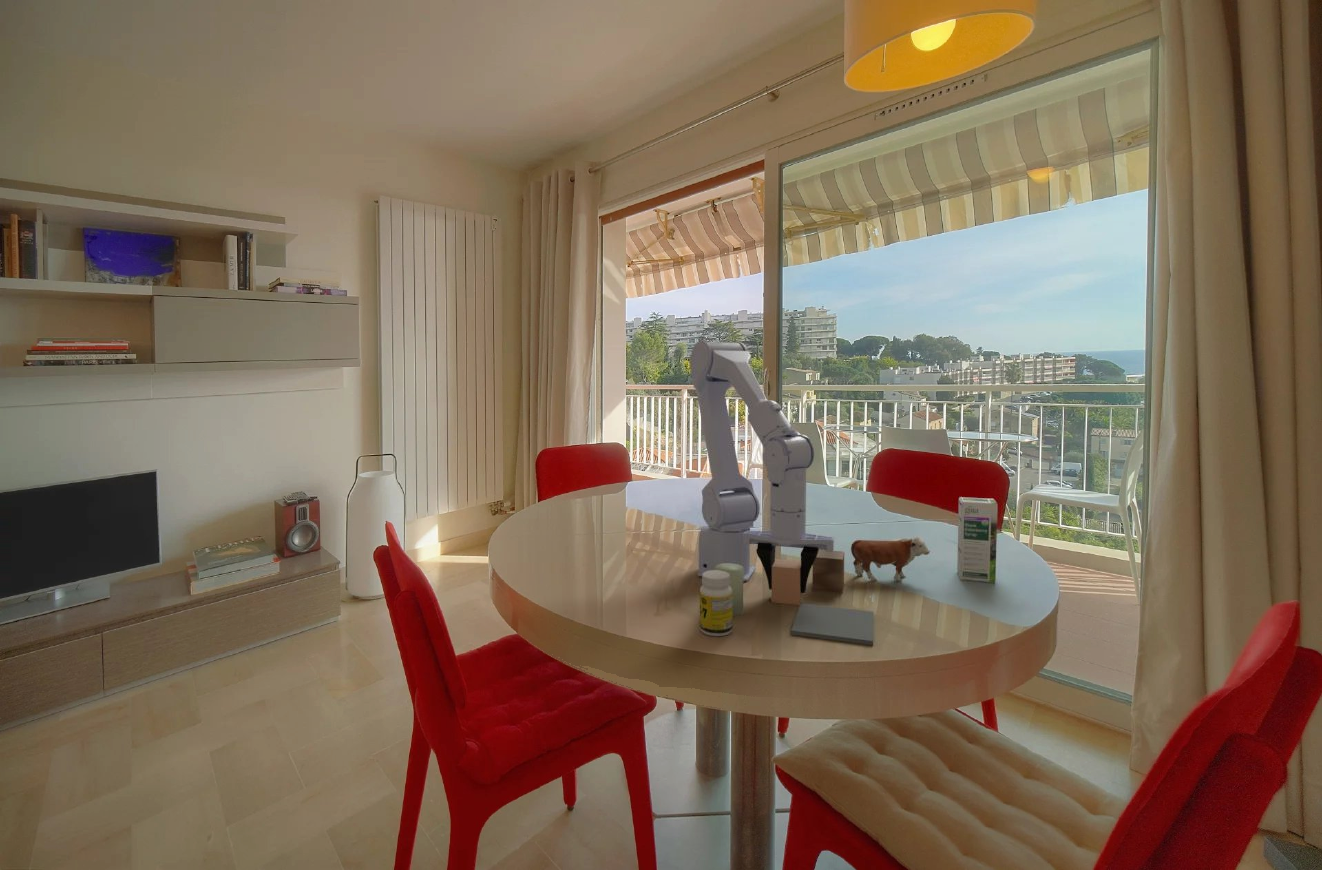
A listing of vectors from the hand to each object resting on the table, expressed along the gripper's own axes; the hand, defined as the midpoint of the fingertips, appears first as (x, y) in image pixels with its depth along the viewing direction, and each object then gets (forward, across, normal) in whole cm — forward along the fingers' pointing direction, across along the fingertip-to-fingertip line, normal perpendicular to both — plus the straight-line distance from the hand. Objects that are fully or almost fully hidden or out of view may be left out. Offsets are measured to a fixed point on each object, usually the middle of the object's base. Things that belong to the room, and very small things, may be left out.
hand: (787, 589), depth 97 cm
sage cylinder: (+2, -8, -8) cm, 11 cm away
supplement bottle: (+2, -8, -16) cm, 18 cm away
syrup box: (+2, +31, +22) cm, 38 cm away
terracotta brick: (+2, 0, 0) cm, 2 cm away
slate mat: (+2, +8, -8) cm, 12 cm away
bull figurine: (+2, +16, +16) cm, 23 cm away
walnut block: (+2, +6, +8) cm, 10 cm away
